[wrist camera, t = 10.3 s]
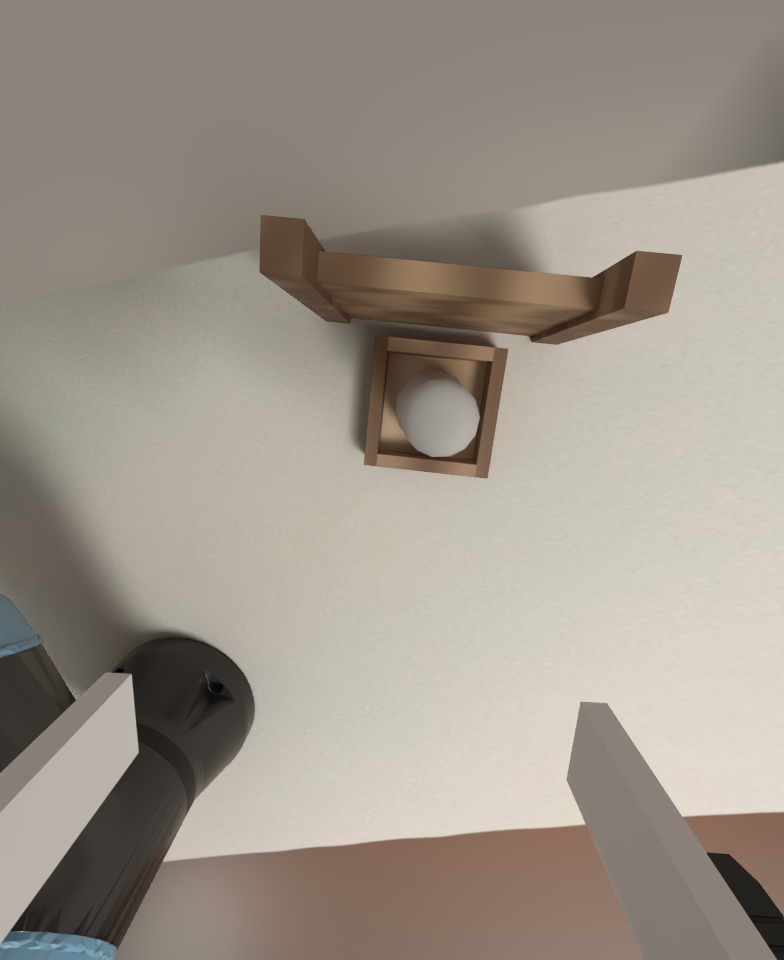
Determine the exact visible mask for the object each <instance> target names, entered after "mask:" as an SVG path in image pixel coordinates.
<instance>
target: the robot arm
mask: <svg viewBox="0 0 784 960" xmlns="http://www.w3.org/2000/svg"><path fill="white" fill-rule="evenodd" d="M43 641H44V639H43V637H42V636H41V635H40V634H36V633H35V632H34V631H33V629H32V628H31V627H30V625H29V624H28V622H27V621H26V620H25V618H24V617H23V616H22V614H21V613H20V611H19V610H18V609H17V607H16V606H15V605H14V603H13V602H12V601H11V600H10V599H9V598H7V597H6V596H4V595H1V594H0V960H113V959H114V957H115V954H116V953H117V949H118V947H119V945H120V943H121V942H122V940H123V938H124V936H125V934H126V932H127V930H128V928H129V926H130V924H131V922H132V920H133V918H134V916H135V914H136V912H137V910H138V908H139V906H140V904H141V903H142V901H143V899H144V897H145V895H146V893H147V891H148V889H149V887H150V885H151V883H152V881H153V879H154V877H155V875H156V873H157V871H158V869H159V867H160V865H161V864H162V862H163V860H164V858H165V856H166V854H167V852H168V850H169V848H170V846H171V844H172V842H173V840H174V838H175V836H176V834H177V832H178V830H179V828H180V826H181V825H182V823H183V820H184V818H185V817H186V815H187V813H188V811H189V809H190V807H191V805H192V804H193V802H194V800H195V799H196V798H197V797H198V796H199V795H200V793H201V792H202V791H203V790H204V789H205V788H206V787H207V786H208V785H209V784H210V783H211V782H212V781H213V780H214V779H215V778H216V777H217V776H218V775H219V774H220V773H221V772H222V771H223V769H224V768H225V767H226V766H227V765H228V764H229V763H230V762H231V761H232V760H233V759H234V758H235V757H236V755H237V754H238V752H239V751H240V749H241V748H242V746H243V744H244V742H245V740H246V737H247V735H248V733H249V731H250V729H251V727H252V724H253V720H254V712H255V708H254V699H253V695H252V691H251V689H250V686H249V684H248V682H247V680H246V678H245V677H244V675H243V674H242V673H241V671H240V670H239V669H238V668H237V666H236V665H235V664H234V663H233V662H232V661H231V660H229V659H228V658H227V657H226V656H224V655H223V654H222V653H220V652H219V651H217V650H215V649H213V648H211V647H209V646H207V645H205V644H202V643H199V642H196V641H192V640H188V639H181V638H165V639H158V640H154V641H150V642H148V643H145V644H143V645H141V646H139V647H137V648H136V649H134V650H133V651H132V652H131V653H129V654H128V655H127V656H126V657H125V658H124V659H123V660H122V661H121V662H120V663H119V664H118V665H117V666H116V667H115V668H114V669H113V670H112V671H111V672H110V673H108V672H105V673H104V674H103V675H102V676H101V677H100V678H99V679H98V680H97V681H96V682H95V683H94V684H93V685H92V686H91V687H90V688H89V689H88V690H87V691H86V692H84V693H83V694H82V695H81V696H80V697H79V698H78V699H77V700H76V699H75V698H74V696H73V695H72V693H71V692H70V690H69V688H68V687H67V685H66V684H65V682H64V680H63V679H62V677H61V675H60V674H59V672H58V670H57V669H56V667H55V665H54V664H53V662H52V660H51V659H50V657H49V655H48V654H47V652H46V650H45V649H44V647H43V646H42V644H41V643H42V642H43ZM567 781H568V784H569V786H570V788H571V791H572V793H573V795H574V798H575V800H576V802H577V805H578V807H579V809H580V812H581V814H582V816H583V819H584V821H585V823H586V826H587V828H588V830H589V833H590V835H591V837H592V840H593V842H594V844H595V846H596V849H597V851H598V854H599V856H600V858H601V861H602V863H603V865H604V867H605V870H606V872H607V874H608V877H609V879H610V881H611V884H612V886H613V888H614V891H615V893H616V895H617V898H618V900H619V902H620V905H621V907H622V909H623V912H624V914H625V916H626V919H627V921H628V923H629V926H630V928H631V930H632V933H633V935H634V937H635V940H636V942H637V944H638V947H639V949H640V951H641V954H642V956H643V958H644V960H784V917H783V915H782V913H781V912H780V911H779V909H778V908H777V907H776V905H775V904H774V903H773V901H772V900H771V898H770V897H769V896H768V894H767V893H766V892H765V890H764V889H763V887H762V886H761V885H760V883H759V882H758V881H757V880H756V879H755V878H753V877H752V876H751V875H750V874H749V873H748V872H747V871H746V870H745V869H744V868H743V867H742V866H741V865H740V864H739V863H738V862H736V860H735V859H734V858H732V857H731V856H730V855H729V854H719V853H706V852H705V850H704V849H703V847H702V846H701V844H700V843H699V841H698V840H697V838H696V837H695V835H694V834H693V832H692V831H691V829H690V828H689V826H688V825H687V823H686V822H685V820H684V819H683V817H682V816H681V814H680V813H679V811H678V810H677V808H676V807H675V805H674V804H673V802H672V801H671V799H670V798H669V796H668V795H667V793H666V792H665V790H664V789H663V787H662V786H661V784H660V783H659V781H658V779H657V778H656V776H655V775H654V773H653V772H652V770H651V769H650V767H649V766H648V764H647V763H646V761H645V760H644V758H643V757H642V755H641V754H640V752H639V751H638V749H637V748H636V746H635V745H634V743H633V742H632V740H631V739H630V737H629V736H628V734H627V733H626V731H625V730H624V728H623V727H622V725H621V724H620V722H619V721H618V719H617V718H616V716H615V715H614V713H613V712H612V710H611V709H610V707H609V706H608V704H607V703H593V702H580V708H579V714H578V719H577V725H576V730H575V736H574V741H573V747H572V752H571V758H570V764H569V769H568V775H567Z"/></svg>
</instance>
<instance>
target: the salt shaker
mask: <svg viewBox="0 0 784 960" xmlns="http://www.w3.org/2000/svg"><path fill="white" fill-rule="evenodd" d="M395 411H396V416H397V420H398V424H399V427H400V428H401V429H402V431H403V432H404V434H405V437H406V438H407V440H408V441H409V442H410V443H411V444H412V445H413V446H414V448H415V449H416V450H418V451H420V452H422V453H424V454H427V455H429V456H431V457H444V456H451V455H453V454H455V453H457V452H460V451H462V450H464V449H465V448H466V447H467V446H468V444H469V443H470V442H471V440H472V439H473V438H474V437H475V435H476V431H477V427H478V423H479V419H480V416H479V411H478V407H477V403H476V400H475V399H474V397H473V396H472V395H471V393H470V392H469V391H468V390H467V388H466V387H465V386H463V385H462V384H461V383H460V382H459V380H458V379H457V378H456V377H453V376H451V375H449V374H446V373H444V372H442V371H423V372H422V373H420V374H418V375H416V376H415V377H413V378H411V379H409V380H408V381H407V383H406V384H405V385H404V387H403V388H402V389H401V391H400V392H399V393H398V398H397V404H396V410H395Z"/></svg>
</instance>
